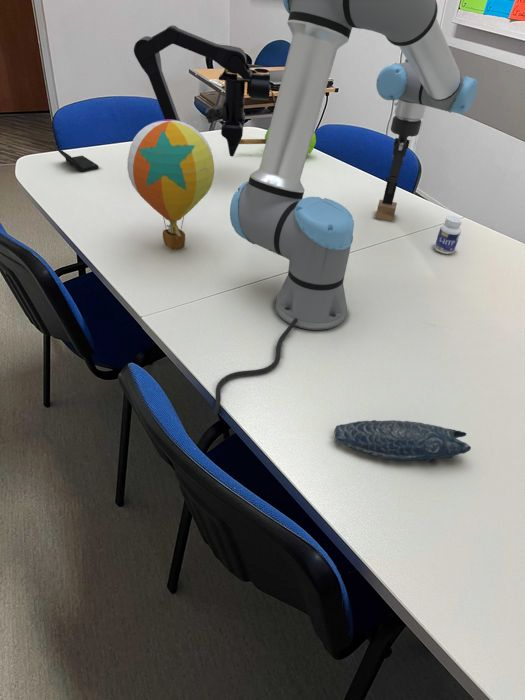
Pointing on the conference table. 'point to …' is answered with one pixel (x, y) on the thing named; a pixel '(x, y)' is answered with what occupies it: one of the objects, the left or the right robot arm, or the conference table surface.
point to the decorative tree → (263, 141)
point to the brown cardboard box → (385, 211)
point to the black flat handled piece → (79, 161)
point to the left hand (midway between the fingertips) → (232, 151)
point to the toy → (171, 172)
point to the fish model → (401, 439)
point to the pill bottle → (448, 235)
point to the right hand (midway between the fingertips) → (389, 195)
